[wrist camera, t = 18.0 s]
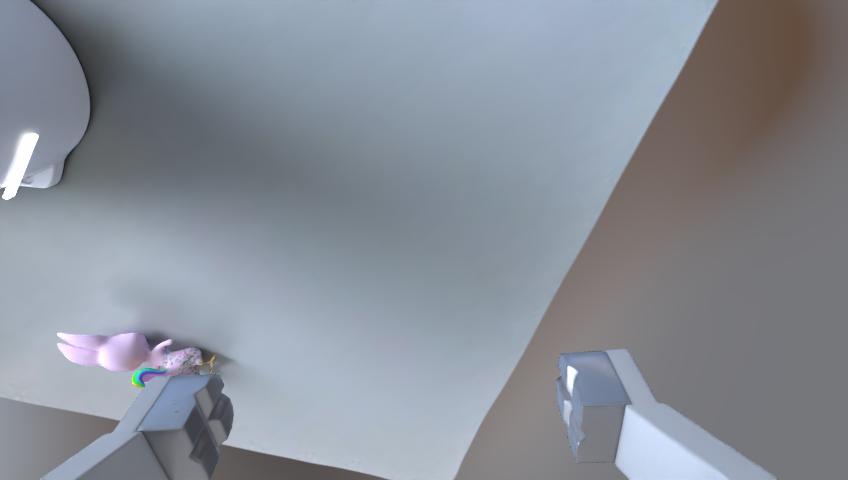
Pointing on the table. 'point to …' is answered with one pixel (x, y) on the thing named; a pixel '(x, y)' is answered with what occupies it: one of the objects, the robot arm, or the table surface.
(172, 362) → the rabbit figure
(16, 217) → the table surface
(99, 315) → the table surface
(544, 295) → the table surface
